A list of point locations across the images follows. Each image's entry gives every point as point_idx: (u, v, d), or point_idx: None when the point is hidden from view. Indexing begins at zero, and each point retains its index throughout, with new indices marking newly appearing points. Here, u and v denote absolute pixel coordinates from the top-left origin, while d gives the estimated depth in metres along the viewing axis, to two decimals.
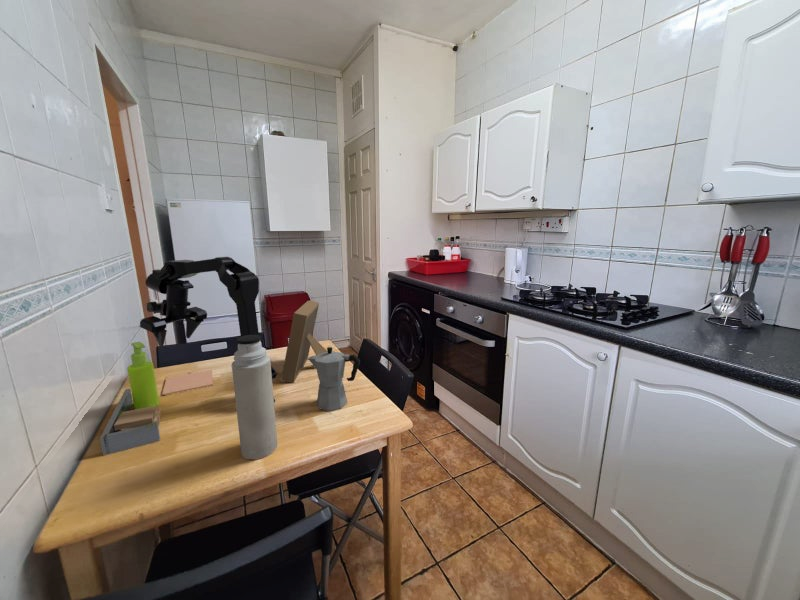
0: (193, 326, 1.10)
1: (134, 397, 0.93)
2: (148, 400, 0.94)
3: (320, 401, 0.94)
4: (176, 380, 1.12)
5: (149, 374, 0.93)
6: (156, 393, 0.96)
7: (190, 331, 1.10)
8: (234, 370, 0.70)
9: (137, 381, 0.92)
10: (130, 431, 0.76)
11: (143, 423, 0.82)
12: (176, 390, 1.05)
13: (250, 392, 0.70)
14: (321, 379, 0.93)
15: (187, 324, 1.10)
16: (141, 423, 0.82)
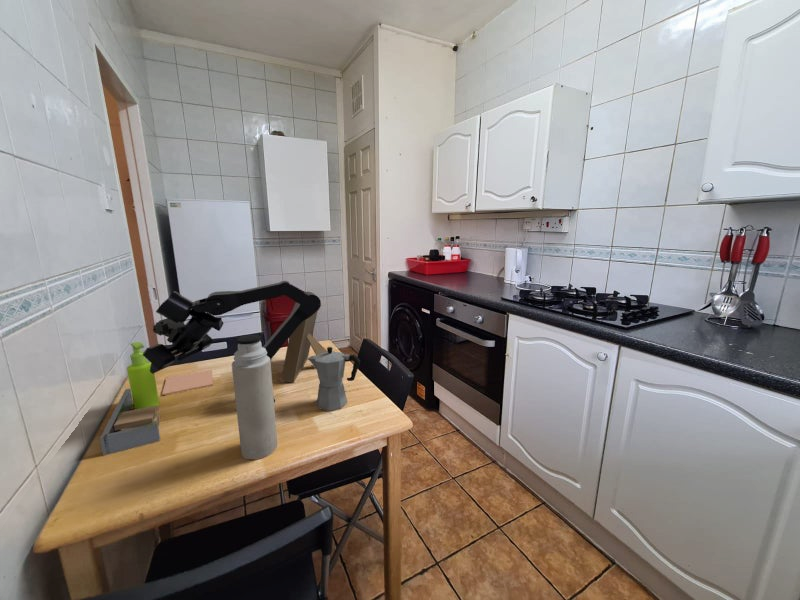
0: (192, 353, 0.96)
1: (134, 397, 0.93)
2: (148, 400, 0.94)
3: (320, 401, 0.94)
4: (176, 380, 1.12)
5: (148, 374, 0.93)
6: (156, 393, 0.96)
7: (185, 356, 0.96)
8: (234, 370, 0.70)
9: (136, 381, 0.91)
10: (130, 431, 0.76)
11: (143, 423, 0.82)
12: (176, 390, 1.05)
13: (250, 392, 0.70)
14: (321, 379, 0.93)
15: None
16: (141, 423, 0.82)
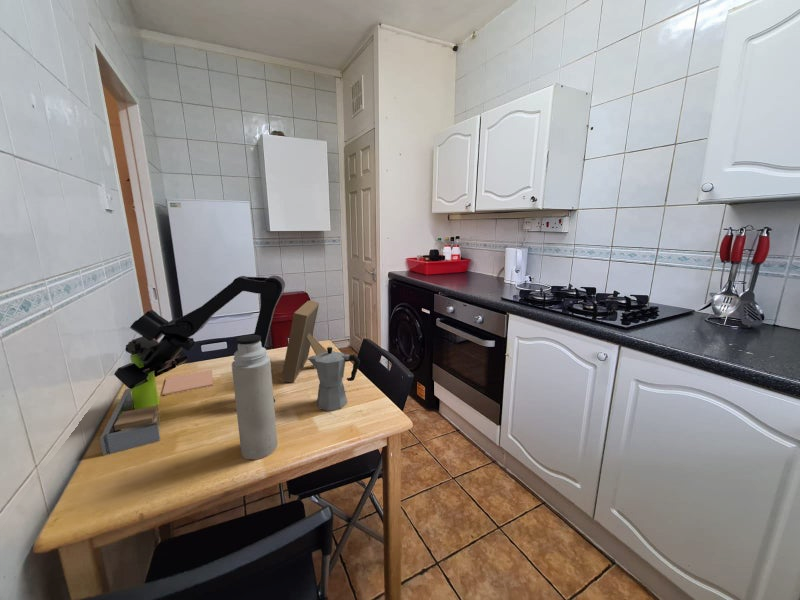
0: (162, 372, 0.97)
1: (134, 397, 0.92)
2: (147, 401, 0.94)
3: (320, 401, 0.94)
4: (176, 380, 1.12)
5: (148, 375, 0.93)
6: (156, 393, 0.96)
7: (156, 374, 0.97)
8: (234, 370, 0.70)
9: None
10: (130, 431, 0.76)
11: (143, 423, 0.82)
12: (176, 390, 1.05)
13: (250, 392, 0.70)
14: (321, 379, 0.93)
15: None
16: (141, 423, 0.82)
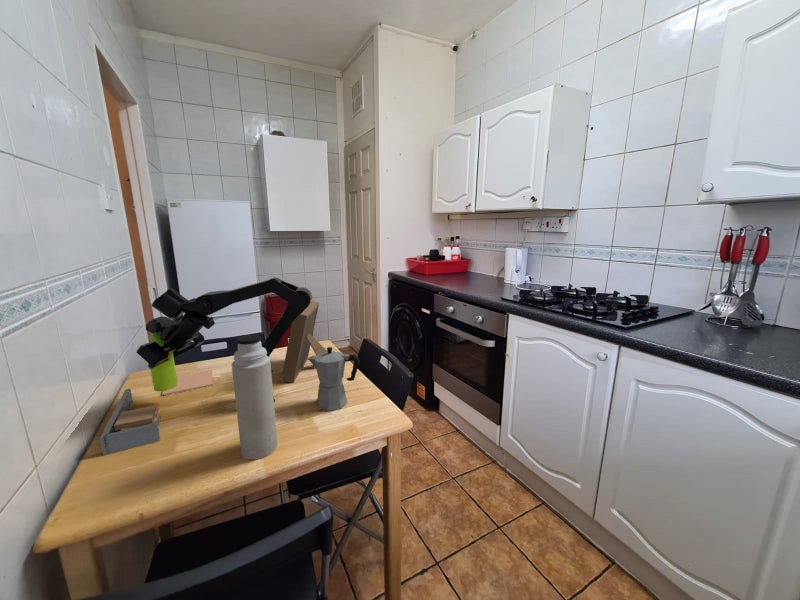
0: (181, 352, 0.97)
1: (154, 377, 0.93)
2: (167, 381, 0.94)
3: (320, 401, 0.94)
4: None
5: None
6: (175, 373, 0.96)
7: (174, 355, 0.97)
8: (234, 370, 0.70)
9: None
10: (130, 431, 0.76)
11: (143, 423, 0.82)
12: (176, 390, 1.05)
13: (250, 392, 0.70)
14: (321, 379, 0.93)
15: None
16: (141, 423, 0.82)
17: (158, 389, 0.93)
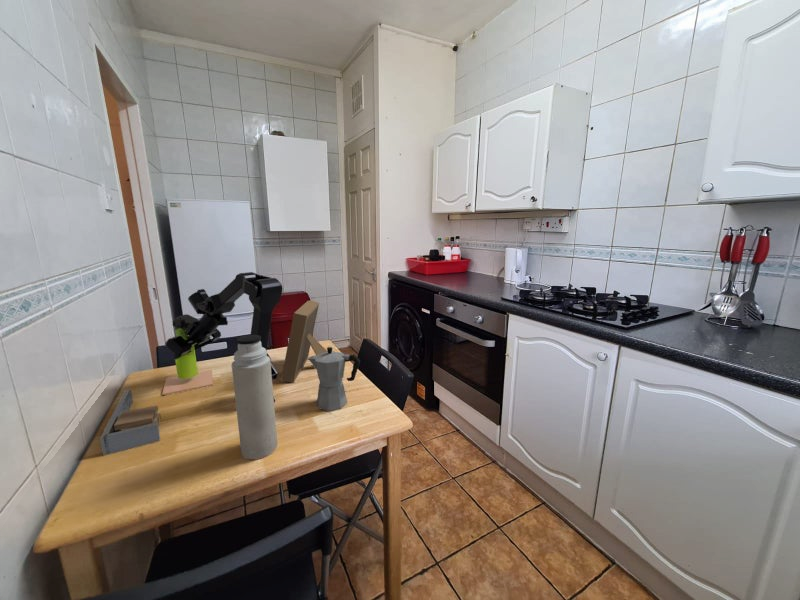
0: (201, 346, 1.12)
1: (178, 366, 1.08)
2: (189, 370, 1.09)
3: (320, 401, 0.94)
4: (176, 380, 1.12)
5: None
6: (195, 364, 1.11)
7: (195, 348, 1.12)
8: (234, 370, 0.70)
9: None
10: (130, 431, 0.76)
11: (143, 423, 0.82)
12: (176, 390, 1.05)
13: (250, 392, 0.70)
14: (321, 379, 0.93)
15: None
16: (141, 423, 0.82)
17: (181, 377, 1.08)
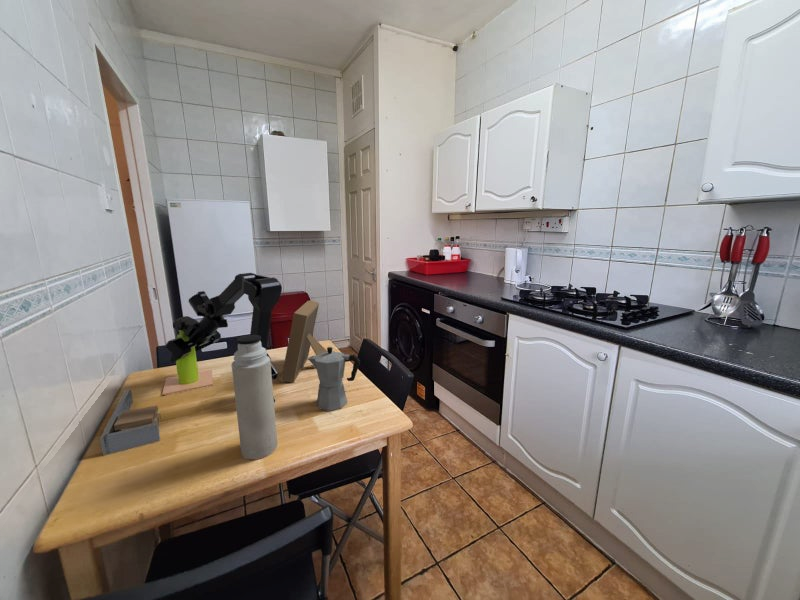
0: (203, 346, 1.14)
1: (179, 371, 1.08)
2: (190, 375, 1.09)
3: (320, 401, 0.94)
4: (176, 380, 1.12)
5: (191, 352, 1.09)
6: (196, 369, 1.12)
7: (198, 348, 1.14)
8: (234, 370, 0.70)
9: (182, 358, 1.07)
10: (130, 431, 0.76)
11: (143, 423, 0.82)
12: (176, 390, 1.05)
13: (250, 392, 0.70)
14: (321, 379, 0.93)
15: None
16: (141, 423, 0.82)
17: (182, 382, 1.09)
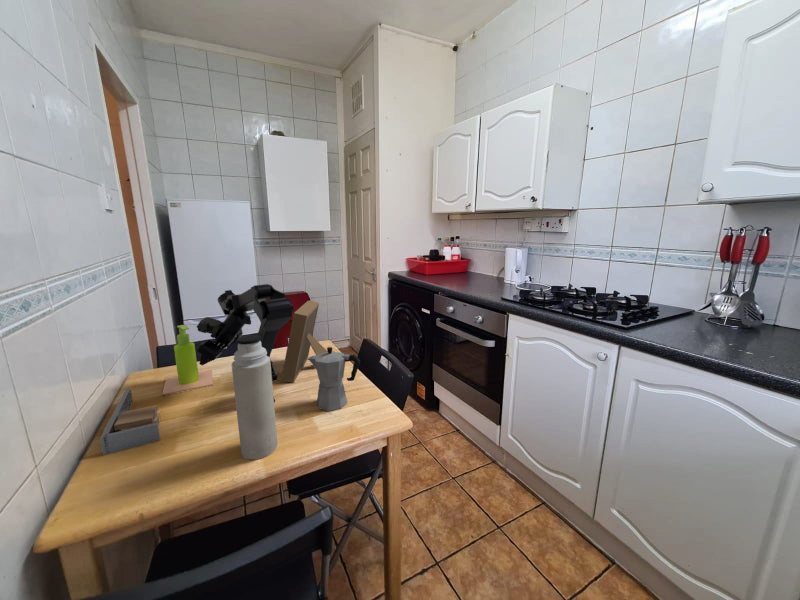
0: (228, 344, 1.13)
1: (179, 372, 1.08)
2: (190, 375, 1.09)
3: (320, 401, 0.94)
4: (176, 380, 1.12)
5: (191, 352, 1.09)
6: (196, 369, 1.12)
7: (222, 347, 1.13)
8: (234, 370, 0.70)
9: (182, 358, 1.07)
10: (130, 431, 0.76)
11: (143, 423, 0.82)
12: (176, 390, 1.05)
13: (250, 392, 0.70)
14: (321, 379, 0.93)
15: None
16: (141, 423, 0.82)
17: (182, 382, 1.09)
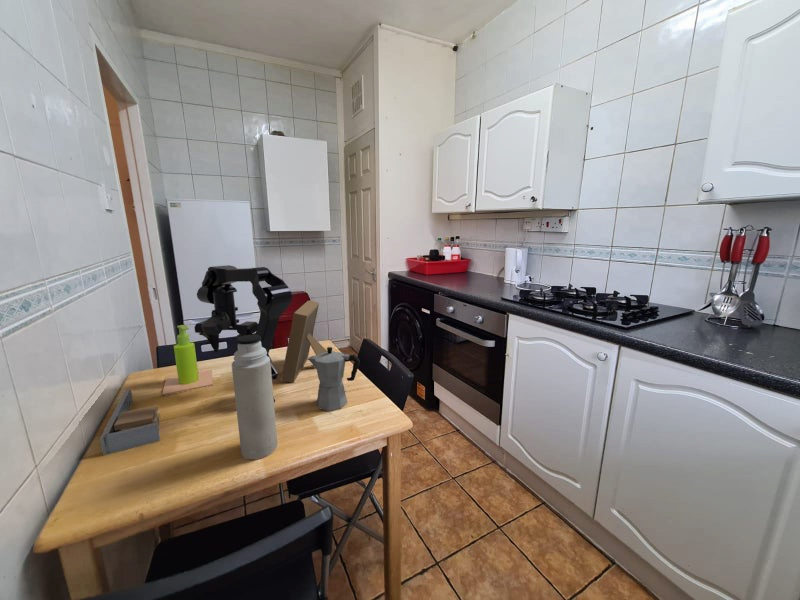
0: (218, 335, 1.05)
1: (179, 372, 1.08)
2: (190, 375, 1.09)
3: (320, 401, 0.94)
4: (176, 380, 1.12)
5: (191, 353, 1.09)
6: (196, 369, 1.12)
7: (217, 342, 1.05)
8: (234, 370, 0.70)
9: (182, 358, 1.07)
10: (130, 431, 0.76)
11: (143, 423, 0.82)
12: (176, 390, 1.05)
13: (250, 392, 0.70)
14: (321, 379, 0.93)
15: (212, 338, 1.03)
16: (141, 423, 0.82)
17: (182, 382, 1.09)
